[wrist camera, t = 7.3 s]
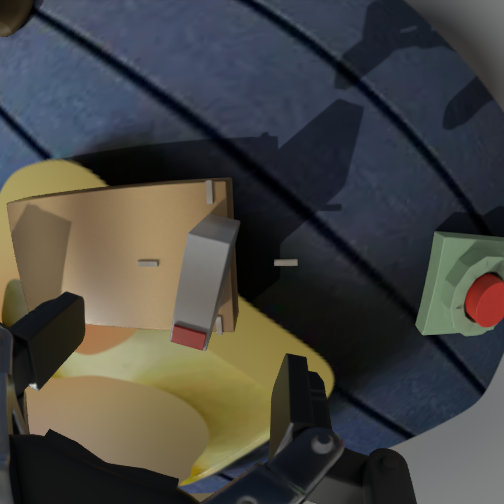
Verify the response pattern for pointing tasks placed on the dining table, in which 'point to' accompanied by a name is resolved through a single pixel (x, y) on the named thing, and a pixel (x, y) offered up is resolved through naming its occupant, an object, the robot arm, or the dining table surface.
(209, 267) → the tap lever
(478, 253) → the button box
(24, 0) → the kendama
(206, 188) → the panel
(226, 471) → the dining table surface
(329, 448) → the robot arm
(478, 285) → the button
